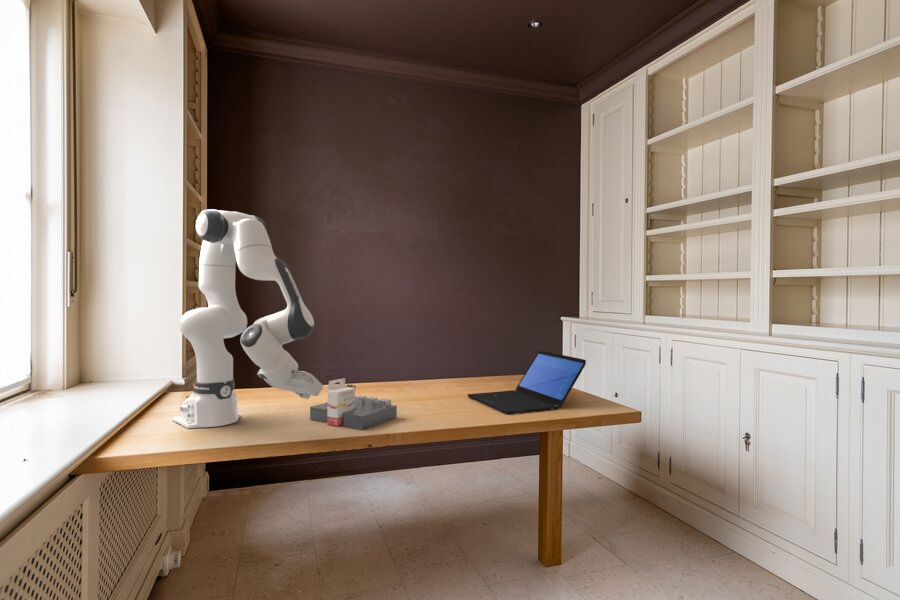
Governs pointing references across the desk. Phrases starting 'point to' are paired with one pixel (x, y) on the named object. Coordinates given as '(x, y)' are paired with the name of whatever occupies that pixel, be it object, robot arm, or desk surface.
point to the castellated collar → (360, 413)
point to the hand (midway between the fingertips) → (306, 396)
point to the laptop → (538, 385)
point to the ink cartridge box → (339, 401)
